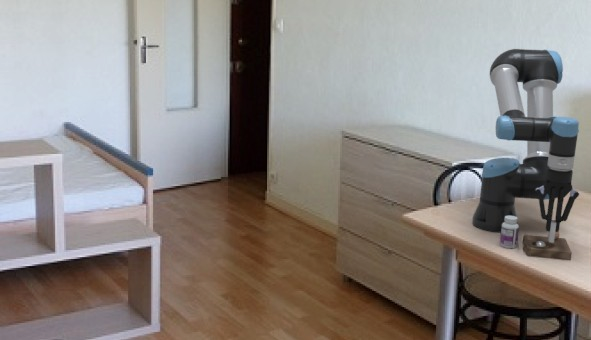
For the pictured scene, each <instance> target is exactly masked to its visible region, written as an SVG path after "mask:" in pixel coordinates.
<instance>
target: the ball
mask: <svg viewBox="0 0 591 340" xmlns="http://www.w3.org/2000/svg"><path fill="white" fill-rule="evenodd" d="M535 246H539V247H545V246H546V244H545V243H544V242H543V241H538V242H536V244H535Z"/></svg>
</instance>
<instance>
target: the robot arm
mask: <svg viewBox="0 0 591 340" xmlns="http://www.w3.org/2000/svg"><path fill="white" fill-rule="evenodd" d="M563 71H564V66H563V61H562V57H561V55H560V54H559V53H558V51H555V50H548V49H526V48H525V49H524V48H523V49H522V48H521V49H520V48H511V49H508V50H506V51H504V52H502V53H500V54H499V55H498V56H497V57H496V58H495V59H494V61H492V64H491V66H490V68H489V79H490V82H491V84H492V85H493V86H494V88H495V89H494V90H495V93H496V99H497V106H498V110H499V114H500V116H498V117H497V118H496V122H495V135H496V136H495V137H496V138H497V139H499V140H506V141H518V142H519V141H521V142H525V141H526V142H527V149H526V152H527V155H526V156H525V157H524V158H523V160H522V163H520V161H519V160H518V159H517V158H513V157H496V158H491V159H488V160H486V161H485V163H484V164H483V167H482V171H481V183H480V184H481V185H480V193H479V194H480V195H479V203H478V204H477V207H476V209H475V210H474V213H473V215H472V222H471V223H472V225H473V226H474V227H476V228H477V229H478V228H479V229H481V230H485V231H489V232H494V233H495V232H496V233H501V227H502V223H503V222H505V220H504V219H505V216H516V217H517V212H516V208H515V202H516V201H515V200H516V199H531V200H532V199H534V200H538V202H539V203H538V204H539V210H540V217H541V219H542V220H544V221H546V223H545V231H546V232H548V233H549V234H548V233H547V235H548V236H547V237H548V241H549V242H552V243H554V238H555V232H558V231H560V225H561V223H562V222H566V221H567V220H568V218H569V217H570V212H571V210H572V208H573V205H574V203H575V201H576V200H577V198H578V197H579V196H580V193H579V191H578V190H575V189H574V188H573V184H572V180H573V173H574V172H573V169H574V164H575V157H576V150H577V143H578V134H579V132H580V129H579V124H580V123H579V120H578V119H577V118H573V117H567V116H554V95H553V93H554V92H553V91H555V90H556V89H557V88H558V84H560V83H561V82H562V79H563ZM519 83H522V89H523V90H524V91H525V92H526V97H527V98H526V99H527V100H526V105H527V106H526V109H527V110H526V111H527V112H526V113H527V116H526V113H525V111H524V105H523V101H522V96H521V93H520V89H519ZM568 194H569V197H568V199H567V202H566V204H565V207H564V209H563V204H564V200H565V197H566V196H568ZM556 199H557V201H556V210H555V219H553V213H554V208H555V207H554V205H555V200H556ZM545 200H548V205H547V213H546V208H545ZM517 218H518V217H517ZM517 224H518V221H517ZM518 225H519V224H518Z"/></svg>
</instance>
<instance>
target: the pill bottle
mask: <svg viewBox="0 0 591 340" xmlns="http://www.w3.org/2000/svg"><path fill="white" fill-rule="evenodd" d="M516 216H517V215H516ZM516 216H505V219H504V220H505V222H503V223H502V227H501V232H500V237H499V238H500V239H499V245H500V246H501V247H503V248H506V249H515V248H517V246H518V241H519V232H520V231H519V229H520V226H519V224H517V221H518V219H519V218H518V217H516Z"/></svg>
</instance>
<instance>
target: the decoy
mask: <svg viewBox="0 0 591 340" xmlns="http://www.w3.org/2000/svg"><path fill="white" fill-rule="evenodd" d="M559 231H560V230H559ZM559 231H558V232H555V238H554V240H555V239H557V238H560V232H559ZM548 234H549V232H547V235H548Z"/></svg>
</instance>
